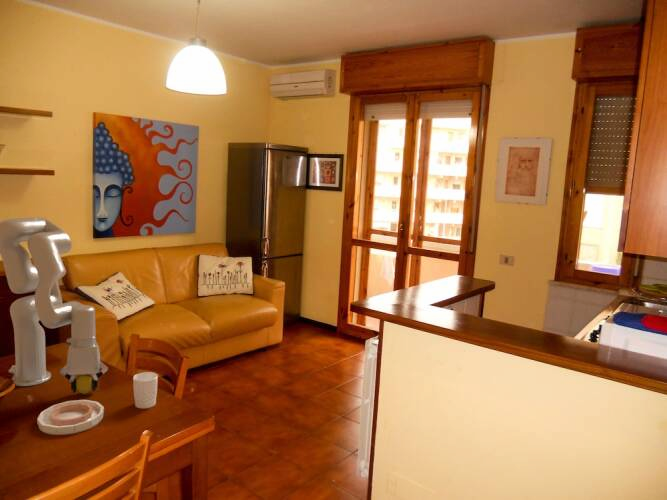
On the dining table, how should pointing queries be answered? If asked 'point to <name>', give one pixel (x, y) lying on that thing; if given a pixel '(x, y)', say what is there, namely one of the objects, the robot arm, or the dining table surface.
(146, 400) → the white cup
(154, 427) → the dining table surface
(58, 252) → the robot arm
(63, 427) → the fruit dish
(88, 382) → the lemon
